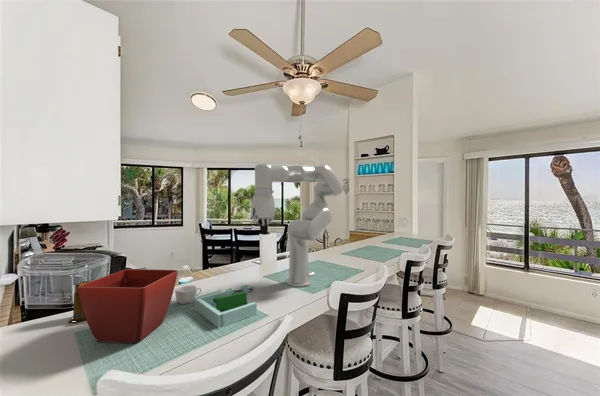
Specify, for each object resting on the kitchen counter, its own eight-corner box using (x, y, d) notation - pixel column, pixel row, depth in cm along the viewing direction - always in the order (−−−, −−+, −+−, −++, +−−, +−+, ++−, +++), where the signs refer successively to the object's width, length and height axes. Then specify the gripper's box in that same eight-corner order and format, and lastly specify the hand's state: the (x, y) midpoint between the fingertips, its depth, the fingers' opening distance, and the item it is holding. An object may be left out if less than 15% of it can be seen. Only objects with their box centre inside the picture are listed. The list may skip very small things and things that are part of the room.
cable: (250, 288, 119) (250, 286, 119) (256, 291, 115) (256, 289, 115) (196, 302, 102) (196, 300, 102) (202, 306, 98) (202, 304, 98)
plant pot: (123, 317, 89) (124, 268, 89) (178, 318, 88) (179, 269, 89) (73, 348, 70) (75, 286, 70) (142, 350, 69) (143, 288, 70)
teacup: (178, 307, 98) (178, 293, 98) (172, 301, 103) (172, 288, 103) (204, 300, 104) (204, 287, 104) (197, 295, 110) (197, 282, 110)
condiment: (100, 312, 93) (100, 278, 93) (93, 322, 85) (94, 285, 85) (74, 315, 90) (74, 281, 90) (64, 326, 82) (65, 289, 82)
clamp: (237, 317, 100) (243, 293, 103) (244, 319, 95) (250, 293, 99) (207, 311, 94) (215, 286, 98) (213, 313, 89) (221, 286, 93)
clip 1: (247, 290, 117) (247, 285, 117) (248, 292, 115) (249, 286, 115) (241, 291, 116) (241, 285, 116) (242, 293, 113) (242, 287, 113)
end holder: (229, 299, 106) (229, 289, 106) (256, 314, 92) (256, 303, 92) (194, 309, 96) (194, 298, 96) (218, 328, 82) (218, 315, 82)
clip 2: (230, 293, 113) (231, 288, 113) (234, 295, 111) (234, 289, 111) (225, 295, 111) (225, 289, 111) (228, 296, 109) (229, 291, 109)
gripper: (271, 192, 121) (271, 231, 121) (244, 192, 110) (244, 235, 111) (282, 192, 116) (282, 233, 116) (254, 192, 105) (254, 237, 105)
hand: (264, 234), depth 113 cm, fingers closed
